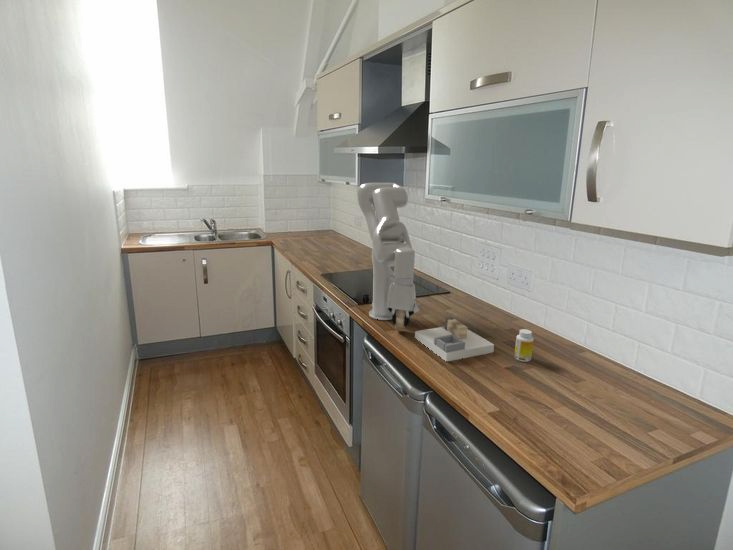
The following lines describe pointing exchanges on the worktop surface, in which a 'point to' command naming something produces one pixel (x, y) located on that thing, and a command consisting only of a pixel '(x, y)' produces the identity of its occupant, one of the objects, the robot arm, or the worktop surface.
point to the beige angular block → (456, 327)
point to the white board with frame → (453, 343)
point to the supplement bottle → (524, 346)
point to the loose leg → (400, 319)
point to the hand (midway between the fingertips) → (400, 324)
